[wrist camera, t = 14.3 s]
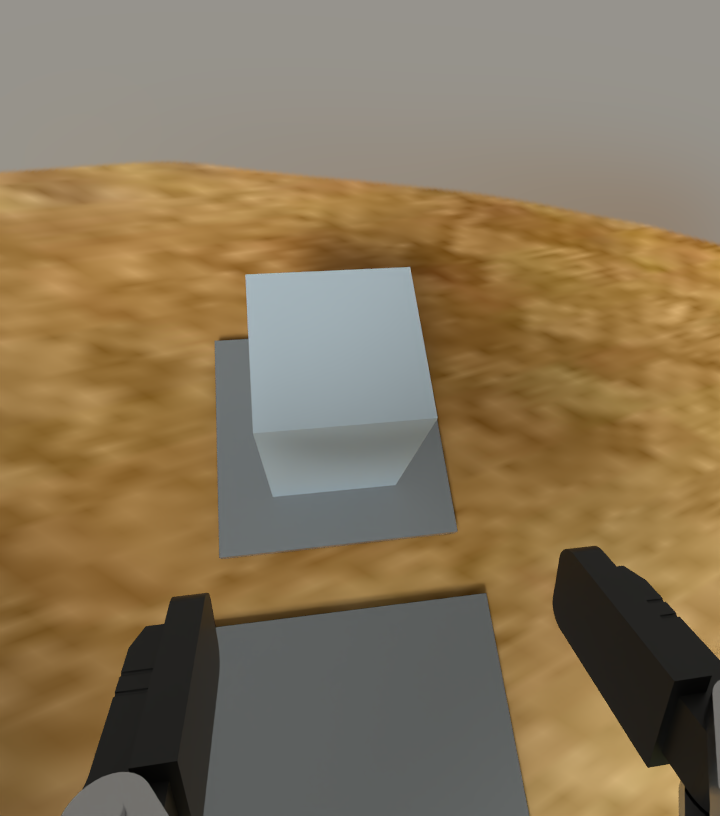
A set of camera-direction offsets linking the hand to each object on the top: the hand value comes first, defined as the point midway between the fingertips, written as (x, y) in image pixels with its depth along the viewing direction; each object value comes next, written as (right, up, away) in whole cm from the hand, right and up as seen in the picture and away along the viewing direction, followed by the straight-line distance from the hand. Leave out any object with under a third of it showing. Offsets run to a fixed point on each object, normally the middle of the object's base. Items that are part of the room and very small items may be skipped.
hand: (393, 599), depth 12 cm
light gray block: (-2, +3, +17) cm, 17 cm away
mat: (-1, -12, +11) cm, 17 cm away
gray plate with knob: (-2, +3, +17) cm, 18 cm away
